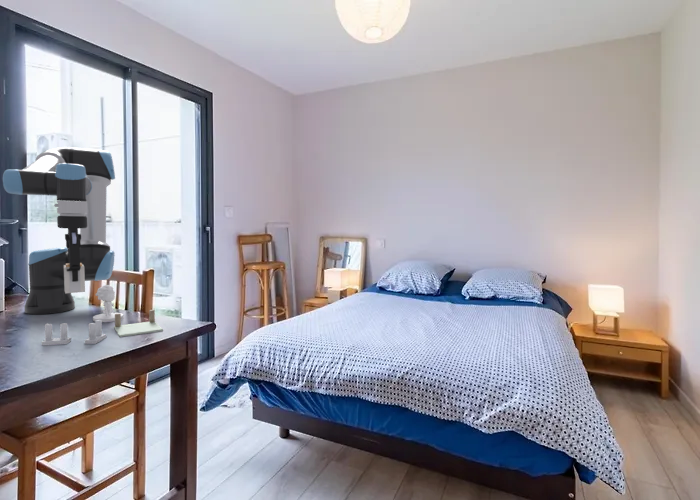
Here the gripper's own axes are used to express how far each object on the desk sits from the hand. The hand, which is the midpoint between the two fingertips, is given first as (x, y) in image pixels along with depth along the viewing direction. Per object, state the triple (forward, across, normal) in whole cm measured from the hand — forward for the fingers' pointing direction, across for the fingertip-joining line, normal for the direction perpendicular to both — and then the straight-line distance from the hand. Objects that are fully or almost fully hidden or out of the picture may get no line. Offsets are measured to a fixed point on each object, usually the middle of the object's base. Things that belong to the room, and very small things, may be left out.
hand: (74, 289), depth 122 cm
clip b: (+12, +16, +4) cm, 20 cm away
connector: (0, 0, 0) cm, 0 cm away
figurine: (+13, -10, +10) cm, 20 cm away
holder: (+13, +10, +16) cm, 22 cm away
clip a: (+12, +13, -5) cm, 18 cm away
